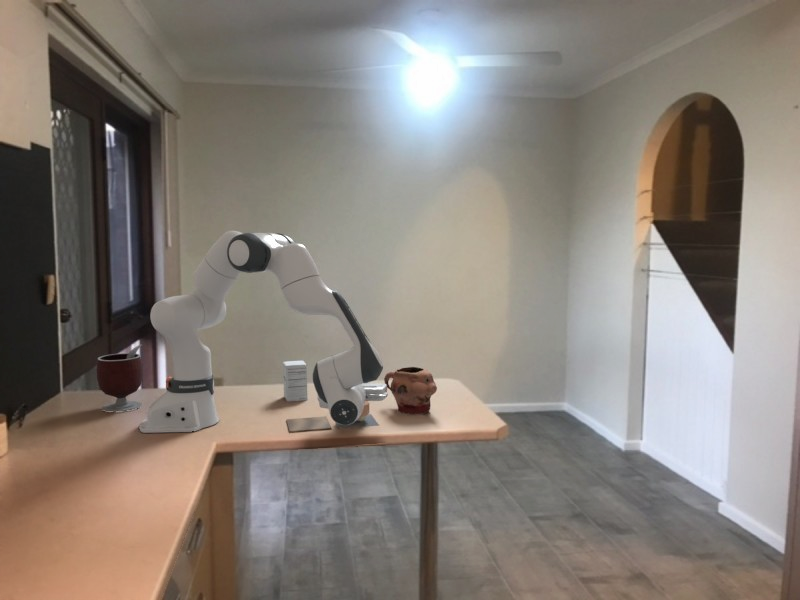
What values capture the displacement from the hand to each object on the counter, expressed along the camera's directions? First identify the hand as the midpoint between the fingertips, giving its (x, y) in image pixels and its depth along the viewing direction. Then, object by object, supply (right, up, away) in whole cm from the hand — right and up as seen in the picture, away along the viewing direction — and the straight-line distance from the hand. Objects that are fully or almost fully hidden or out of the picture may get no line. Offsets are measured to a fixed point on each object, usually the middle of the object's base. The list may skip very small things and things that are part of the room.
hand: (354, 384), depth 189 cm
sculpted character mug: (+17, -10, +13) cm, 23 cm away
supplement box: (-23, -9, +29) cm, 38 cm away
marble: (+2, -11, 0) cm, 11 cm away
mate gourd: (-78, -10, +20) cm, 81 cm away
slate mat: (0, -11, 0) cm, 11 cm away
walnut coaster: (-13, -12, -3) cm, 18 cm away
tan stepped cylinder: (0, -8, 0) cm, 8 cm away
